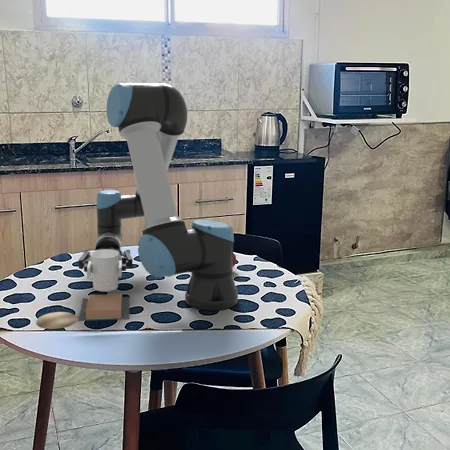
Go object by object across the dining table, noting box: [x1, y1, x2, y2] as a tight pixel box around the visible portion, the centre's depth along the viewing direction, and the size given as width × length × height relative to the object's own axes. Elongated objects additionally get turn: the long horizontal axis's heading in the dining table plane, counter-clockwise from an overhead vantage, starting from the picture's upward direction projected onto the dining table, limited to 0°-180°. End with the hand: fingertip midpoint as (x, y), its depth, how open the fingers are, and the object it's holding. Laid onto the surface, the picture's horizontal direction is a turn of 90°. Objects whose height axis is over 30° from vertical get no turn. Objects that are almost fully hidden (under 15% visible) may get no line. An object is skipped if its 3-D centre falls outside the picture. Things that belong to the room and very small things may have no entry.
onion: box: [233, 252, 237, 268], centre depth 194 cm, size 6×6×8 cm
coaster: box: [36, 311, 78, 330], centre depth 152 cm, size 10×10×1 cm
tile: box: [86, 293, 123, 319], centre depth 158 cm, size 2×9×11 cm
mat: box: [77, 296, 131, 322], centre depth 160 cm, size 16×13×1 cm
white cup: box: [90, 249, 120, 293], centre depth 163 cm, size 8×8×10 cm
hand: (104, 272), depth 159 cm, fingers closed on white cup, 8 cm apart
